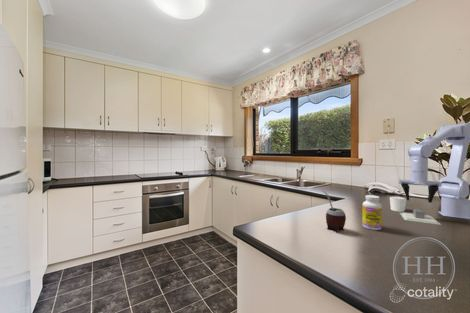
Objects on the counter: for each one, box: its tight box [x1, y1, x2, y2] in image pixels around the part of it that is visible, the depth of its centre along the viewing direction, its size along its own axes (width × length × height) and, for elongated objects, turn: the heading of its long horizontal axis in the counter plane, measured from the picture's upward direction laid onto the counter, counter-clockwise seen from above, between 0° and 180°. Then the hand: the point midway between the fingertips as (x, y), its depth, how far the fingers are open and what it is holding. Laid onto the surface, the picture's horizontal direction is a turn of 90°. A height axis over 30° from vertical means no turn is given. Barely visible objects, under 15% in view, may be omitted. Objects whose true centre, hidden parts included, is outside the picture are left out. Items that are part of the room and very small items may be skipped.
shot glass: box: [389, 196, 407, 213], centre depth 107 cm, size 7×7×7 cm
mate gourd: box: [322, 190, 347, 233], centre depth 82 cm, size 8×8×15 cm
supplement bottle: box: [361, 194, 383, 231], centre depth 84 cm, size 7×7×13 cm
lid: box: [402, 208, 437, 224], centre depth 94 cm, size 10×10×4 cm
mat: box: [399, 212, 442, 226], centre depth 94 cm, size 12×12×1 cm
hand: (418, 201), depth 94 cm, fingers open, 7 cm apart
